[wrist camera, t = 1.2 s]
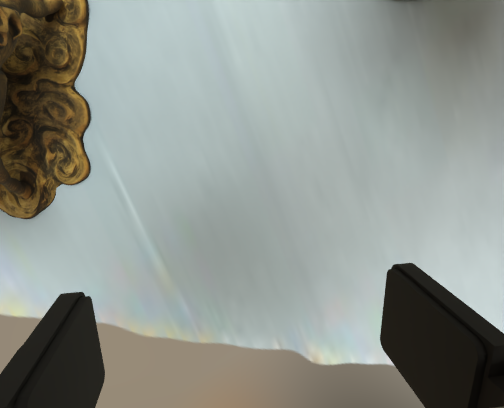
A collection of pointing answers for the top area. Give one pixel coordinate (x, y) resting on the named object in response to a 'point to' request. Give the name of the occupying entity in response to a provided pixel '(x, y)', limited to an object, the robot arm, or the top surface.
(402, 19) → the top surface
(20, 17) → the figurine
